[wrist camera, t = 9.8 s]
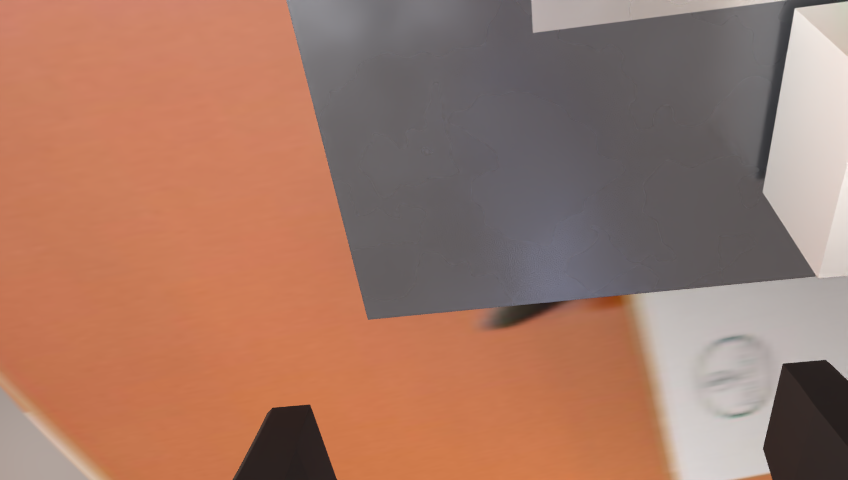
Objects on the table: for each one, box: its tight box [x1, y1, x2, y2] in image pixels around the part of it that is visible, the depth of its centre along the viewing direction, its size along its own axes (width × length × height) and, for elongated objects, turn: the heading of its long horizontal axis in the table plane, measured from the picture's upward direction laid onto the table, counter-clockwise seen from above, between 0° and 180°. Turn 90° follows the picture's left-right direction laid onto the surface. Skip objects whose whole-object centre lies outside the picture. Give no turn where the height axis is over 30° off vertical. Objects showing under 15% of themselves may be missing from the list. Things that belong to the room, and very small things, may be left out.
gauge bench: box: [287, 0, 848, 320], centre depth 17 cm, size 12×23×5 cm, turn 98°
